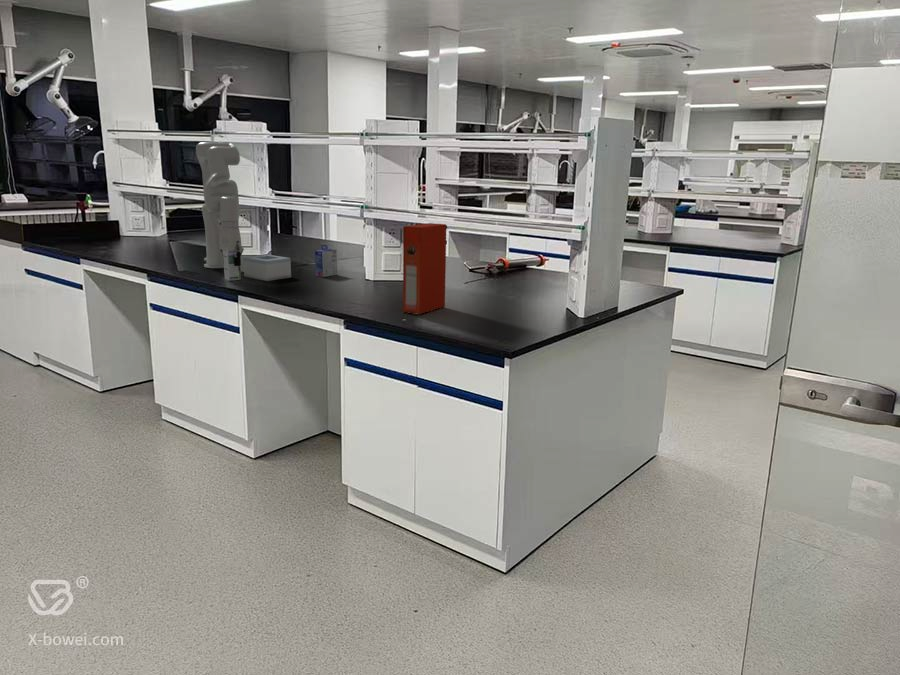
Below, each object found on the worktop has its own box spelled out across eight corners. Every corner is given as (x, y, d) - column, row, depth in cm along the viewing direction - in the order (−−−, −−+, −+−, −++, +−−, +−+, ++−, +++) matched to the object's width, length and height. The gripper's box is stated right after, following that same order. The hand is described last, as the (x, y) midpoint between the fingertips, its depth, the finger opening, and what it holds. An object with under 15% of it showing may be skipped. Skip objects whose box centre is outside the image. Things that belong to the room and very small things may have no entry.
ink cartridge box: (329, 273, 331) (329, 243, 327) (338, 274, 328) (337, 244, 324) (314, 276, 323) (314, 245, 320) (323, 277, 320) (322, 246, 317)
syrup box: (228, 281, 305) (226, 248, 301) (224, 278, 309) (222, 246, 305) (241, 280, 308) (239, 247, 304) (236, 277, 312) (235, 246, 309)
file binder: (402, 312, 254) (403, 226, 246) (427, 304, 269) (429, 222, 260) (420, 315, 250) (422, 227, 242) (444, 307, 265) (447, 224, 256)
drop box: (244, 276, 316) (243, 257, 314) (268, 273, 327) (267, 254, 325) (267, 281, 307) (266, 261, 305) (291, 277, 318) (290, 258, 316)
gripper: (210, 224, 304) (212, 263, 309) (235, 227, 294) (237, 268, 299) (224, 223, 310) (226, 261, 315) (249, 226, 300) (251, 266, 305)
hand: (232, 264), depth 307 cm, fingers closed on syrup box, 7 cm apart
